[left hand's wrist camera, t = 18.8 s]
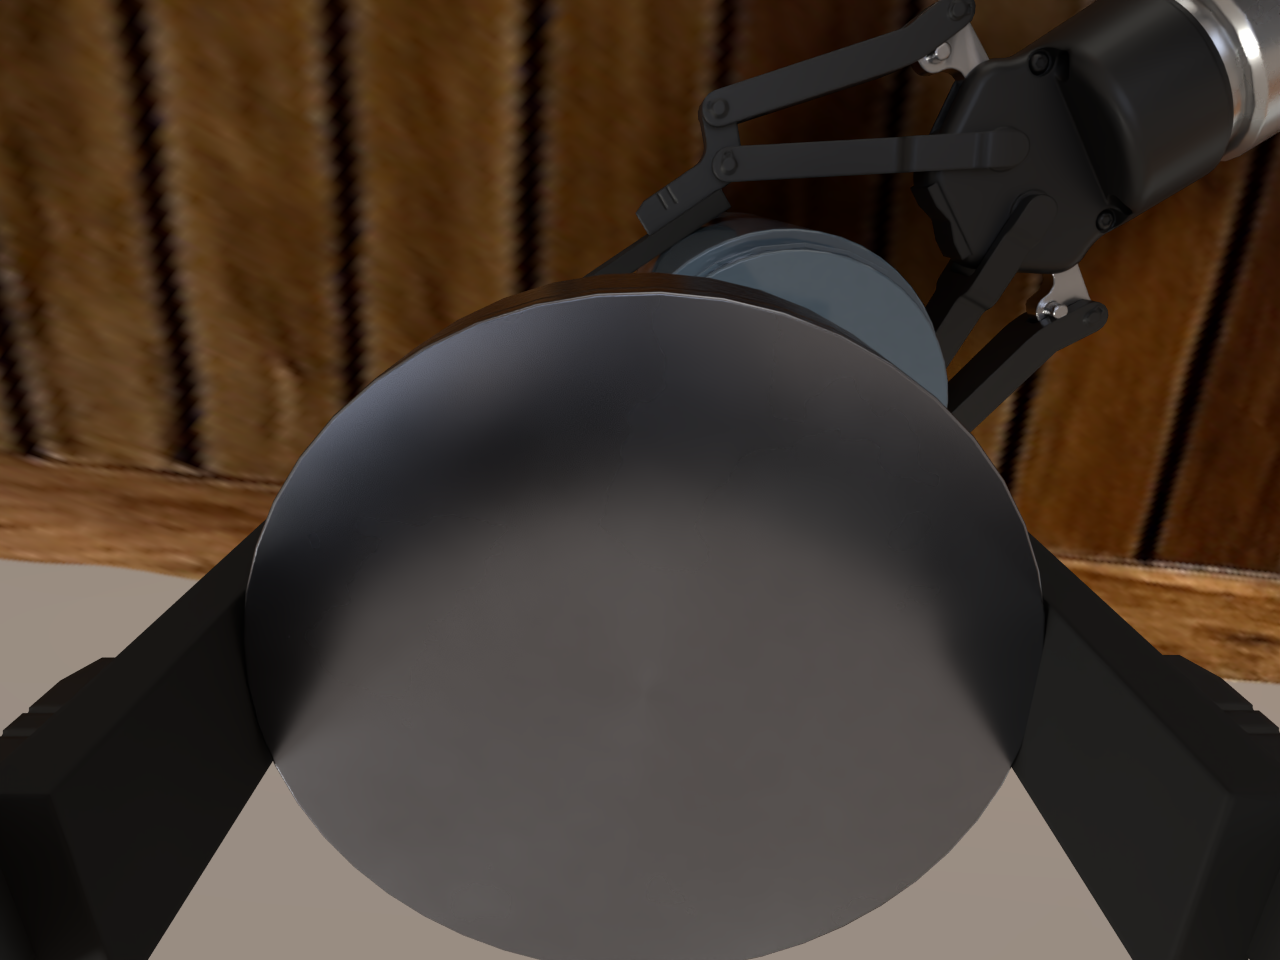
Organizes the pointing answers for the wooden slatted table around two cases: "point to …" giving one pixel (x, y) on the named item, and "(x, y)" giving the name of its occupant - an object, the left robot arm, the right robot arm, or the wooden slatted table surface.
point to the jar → (817, 285)
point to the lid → (643, 625)
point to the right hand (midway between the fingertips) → (654, 399)
